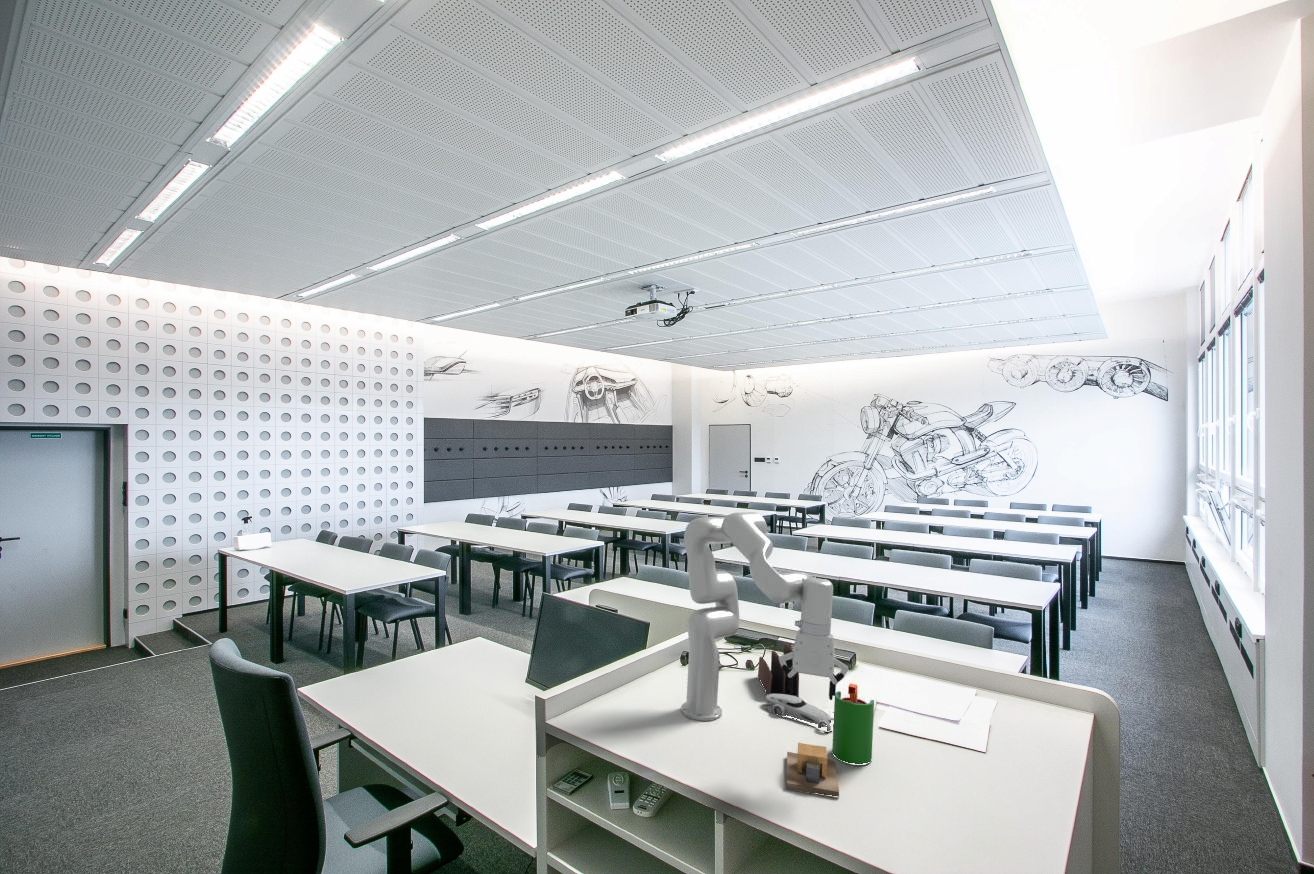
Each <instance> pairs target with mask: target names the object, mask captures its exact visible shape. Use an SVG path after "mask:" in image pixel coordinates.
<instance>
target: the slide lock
mask: <svg viewBox="0 0 1314 874" xmlns="http://www.w3.org/2000/svg"><path fill="white" fill-rule="evenodd" d="M796 753H797V772H800V773H802V761H808V762H814V763H821V771H822V776H823V777H827V758H828V751H827V747H826V746H821V745H816V744H810V743H804V742H803V743H802V742H797V752H796Z"/></svg>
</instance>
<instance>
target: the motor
mask: <svg viewBox="0 0 1314 874" xmlns="http://www.w3.org/2000/svg"><path fill="white" fill-rule="evenodd" d="M847 688H848V689H847V690H848V692H847V694H848V695H849V697H843V698H841V697H842V692H841V691H839V690H838V691H836V692H835V696H834V703H833V704H834V705H833V706H834V707H833V712H834V724H833V732H832V746H831V747H832V748H831V753H832V752H833V754H834V755H835V756H836V757H837V758H838V759H840V760H842V761H845V762H848V763H855V764H863V763H868V762H870V761H871V759H873V737H874V735H873V734H874V715H875V713H874V712H875V700H874V699H871V700H870V701H869V702H868V703H867V702H866V701H865V700H862V699H861V698H858V684H854V683H849V684H848V686H847ZM833 754H832V755H833ZM838 759H837V760H838ZM871 762H872V761H871Z"/></svg>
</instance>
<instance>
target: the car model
mask: <svg viewBox="0 0 1314 874" xmlns="http://www.w3.org/2000/svg"><path fill="white" fill-rule="evenodd" d="M765 699H766V700H768V701H769V702H771V703H773V704H774V705H773V704H768V705H767V706H766V709H767V710H768V712H770V711H771V712H770V713H772V712H773V713H774V714H778V715H780V716H786V715H787V716H791V717H794V718H797V719H800V720H804V721H807V722H810V723H815V724H818V728H821V727H827V731H830V730H831V726H830V723H831V718H830V716H831V715H830V714H829V713H827V712H825V711H824V710H822V709H820V708H818V707H817V706H815V705H812V704H811V703H808V702H805V701H804V699H802V698H800V696H799V697H796V696H791V695H786V694H769V695H767V694H766V696H765ZM773 713H772V714H773ZM832 713H834V711H833V712H832ZM774 714H773V715H774ZM794 718H792V719H794ZM792 719H791V720H792ZM797 719H796V720H797ZM826 725H827V726H826Z"/></svg>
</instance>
